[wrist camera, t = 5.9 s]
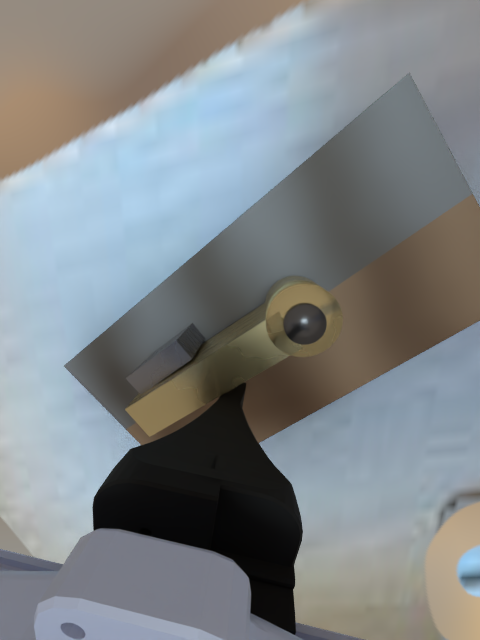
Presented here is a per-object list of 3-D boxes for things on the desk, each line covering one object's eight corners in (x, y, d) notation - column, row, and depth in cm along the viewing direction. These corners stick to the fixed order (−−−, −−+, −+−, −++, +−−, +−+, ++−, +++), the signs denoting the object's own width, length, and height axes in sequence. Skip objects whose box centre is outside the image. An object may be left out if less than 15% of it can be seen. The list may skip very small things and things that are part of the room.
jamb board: (392, 92, 10) (409, 72, 9) (499, 290, 12) (525, 295, 10) (79, 356, 15) (63, 366, 14) (187, 469, 16) (181, 485, 15)
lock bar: (303, 263, 11) (319, 269, 8) (334, 312, 11) (360, 335, 8) (147, 368, 13) (112, 404, 10) (178, 405, 13) (153, 450, 10)
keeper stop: (192, 323, 12) (175, 340, 10) (205, 338, 12) (191, 358, 10) (149, 355, 13) (125, 378, 11) (162, 369, 13) (141, 395, 11)
